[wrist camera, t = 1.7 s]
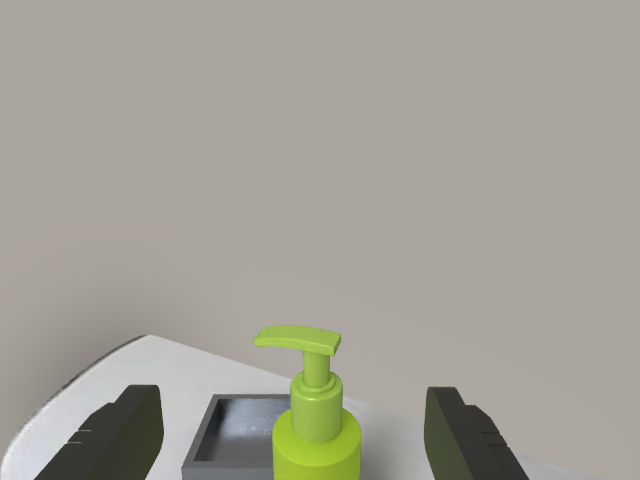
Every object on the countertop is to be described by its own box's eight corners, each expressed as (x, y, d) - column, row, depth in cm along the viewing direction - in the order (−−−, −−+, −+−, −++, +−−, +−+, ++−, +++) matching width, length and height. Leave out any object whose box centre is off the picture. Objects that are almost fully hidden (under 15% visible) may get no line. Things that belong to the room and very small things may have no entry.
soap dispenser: (281, 529, 32) (275, 309, 28) (363, 552, 30) (370, 320, 26) (251, 607, 27) (235, 349, 22) (347, 641, 25) (353, 367, 20)
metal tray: (312, 418, 45) (312, 394, 45) (310, 498, 35) (310, 468, 34) (215, 418, 45) (213, 394, 45) (184, 498, 35) (181, 468, 34)
